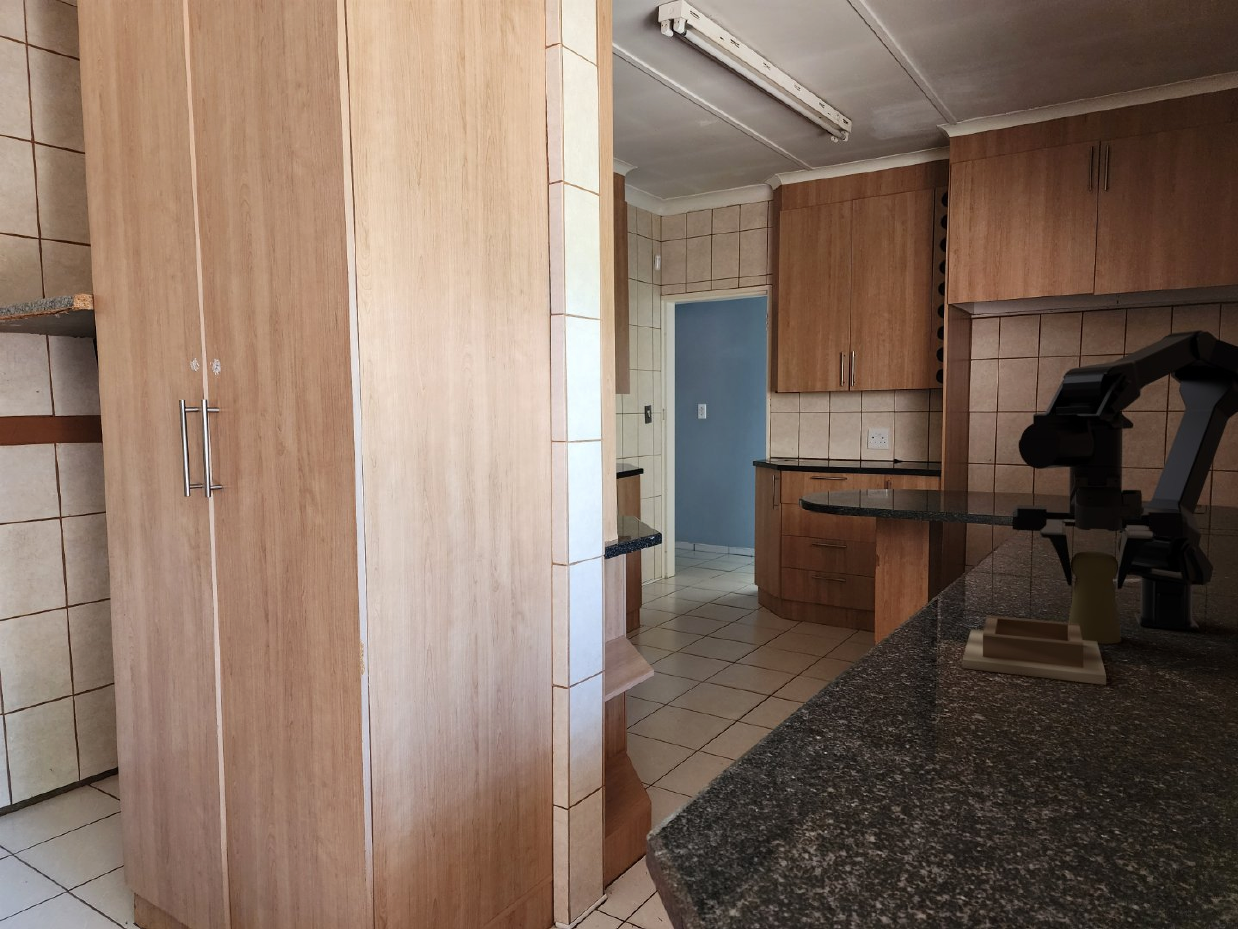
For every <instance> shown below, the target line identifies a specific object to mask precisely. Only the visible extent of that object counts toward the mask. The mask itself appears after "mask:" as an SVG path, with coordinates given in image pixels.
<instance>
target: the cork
mask: <svg viewBox="0 0 1238 929" xmlns="http://www.w3.org/2000/svg"><path fill="white" fill-rule="evenodd" d="M1070 565H1071V572H1072V574H1073V575H1074V576H1075V580H1074V586H1073V592H1072V598H1071V603H1070V604H1071V606H1070V611H1069V616H1068V617H1069V618H1068V623H1079V626H1080V631H1081V636H1082V640H1087V641H1097V644H1101V645H1103V644H1104V645H1107V644H1108V645H1109V644H1110V645H1112V644H1118V643H1120V642H1122V635H1121V628H1120V619H1119V614H1118V608H1117V606H1118V605H1117V599H1116V591H1115V586H1114V579H1115V578H1116V577H1117V572H1118V560H1117V558H1116V557H1115V556H1113V555H1112V554H1111V553H1108V552H1104V551H1103V552H1102V551H1094V550H1093V551H1091V550H1090V551H1079V552H1076V553H1075V554H1074V555H1073V557H1072V558H1071V560H1070Z"/></svg>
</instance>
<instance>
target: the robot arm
mask: <svg viewBox="0 0 1238 929" xmlns="http://www.w3.org/2000/svg"><path fill="white" fill-rule="evenodd" d="M1169 375H1170V377H1171V378H1172V379H1174V380H1175V381H1176V382H1177V383H1179V388H1178V392H1179V396H1181V397H1180V398H1181V399H1182V402H1183V404H1184V407H1185V408H1184V413H1183V415H1182V418H1181V420H1180V423H1179V426H1178V428H1177V430H1176V434H1175V437H1174V439H1173V442H1172V445H1171V446H1170V447H1171V448H1170V450H1169V452H1168V454H1167V455H1168V456H1167V458H1166V460H1165V463H1164V466H1163V469H1162V471H1161V474H1160V476H1159V478H1158V482H1157V484H1156V487H1155V489H1154V492H1153V495H1152V497H1151V500H1150V501H1149V502H1148V503H1146V504H1145V505H1143V494H1142V490H1141V489H1123V437H1124V436H1123V430H1124V429H1125V430H1129V429H1133V428H1134V423H1133V422H1132V420H1130V419H1129V418H1128V417H1126V415H1124V414H1123V412H1122V411H1124V410H1125V409H1127V408H1128V407H1129V406H1131V405H1132V404H1133V403H1134V402H1136V401H1137V400H1138V399H1140V397H1141V395H1142V394H1141V393H1142V392H1141V390H1142V389H1143V388H1145V387H1146V386H1148V385H1149V384H1151V383H1154V382H1156V381H1159V380H1160V379H1163V378H1164V377H1166V376H1169ZM1062 378H1063V380H1062V381H1061V383H1060V385H1059V386H1058V388H1057V390H1056V392H1055V394H1054V396H1053V398H1052V399H1051V401H1050V403H1049V405H1048V407H1047V408H1046V410H1045V413H1042V412H1041V413H1034V414H1033V416H1032V418H1033V419H1032V420H1033V423H1031V424H1030V425H1028V426H1027V427H1026V428H1025V429H1024V430H1023V432H1022V433H1021V435H1020V436H1021V437H1020V439H1019V440H1018V450H1019V455H1020V457H1021V459H1022V460H1023V462H1024V463H1025V464H1026V465H1027V466H1029V467H1031V468H1033V469H1037V470H1039V469H1040V470H1041V469H1042V470H1043V469H1058V468H1069V480H1068V481H1069V482H1068V483H1069V486H1068V488H1069V489H1068V490H1069V493H1068V495H1069V497H1068V499H1069V500H1068V502H1069V503H1068V504H1069V505H1068V506H1069V508H1068V511H1049V510H1047V505H1042V504H1041V505H1039V504H1038V505H1035V504H1032V505H1031V504H1017V505H1016V506H1015V507H1014V508H1013V511H1012V530H1014V531H1027V532H1028V531H1030V532H1039V536H1040V537H1041V538H1045V539H1049V541H1050V542H1051V544H1052V547H1053V548H1054V550H1055V552H1056V554H1057V555H1058V558H1059V559H1058V560H1059V561H1060V564H1061V568H1062V570H1063V573H1064V576H1065V579H1066V583H1067V585H1068V586H1069V587H1072V585H1073V572H1072V569H1071V560H1070V553H1069V545H1068V536H1067V532H1066V527H1076V528H1077V529H1079V530H1081V531H1082V530H1083V531H1091V530H1107V531H1109V532H1118V531H1119V532H1118V533H1120V536H1119V538H1118V546H1117V548H1118V551H1119V552H1118V553H1119V554H1118V560H1117V562H1118V572H1117V575H1116V588H1117V590H1122V588H1123V586H1124V583H1125V581H1126V579H1127V575H1128V576H1136V577H1140V611H1135V612H1134V616H1135V619H1136V620H1137V622H1138V625H1139V626H1142V627H1151V628H1153V627H1155V628H1165V629H1167V628H1168V629H1174V630H1175V629H1176V630H1189V631H1199V630H1200V626H1199V625H1198V624H1197V622H1196V621H1195V620H1194V618H1193V617H1192V614H1193V585H1196V586H1205V585H1207V583H1211V579H1212V576H1213V571H1214V565H1213V564H1212V562H1210V560H1209V558H1208V557H1207V556H1206V554H1205V552H1204V551H1203V550H1202V548H1201V547H1200V542H1201V537H1202V534H1201V530H1200V528H1199V525H1198V523H1197V519H1196V518H1195V511H1196V508H1197V506H1198V503H1199V500H1200V498H1201V495H1202V492H1203V489H1204V486H1205V483H1206V481H1207V478H1208V476H1209V472H1210V470H1211V468H1212V466H1213V465H1212V464H1213V461H1214V459H1215V456H1216V454H1217V450H1218V449H1219V445H1220V442H1221V439H1222V437H1223V434H1224V432H1225V430H1226V426H1227V424H1228V421H1229V420H1230V419H1231V418H1232V417H1233V416H1234V415H1236V414H1237V413H1238V345H1235V344H1233V343H1229V342H1227V341H1224V340H1220V339H1218V338H1216V337H1215V336H1214V335H1213V334H1212V333H1211V332H1209V331H1204V330H1201V329H1199V330H1190V331H1187V330H1186V331H1180V332H1172V333H1169V334H1168V335H1164V336H1163V337H1162V338H1161V339H1160V340H1158V341H1156V342H1153V343H1151V344H1149V345H1146V346H1144V347H1142V348H1140V349H1139V350H1136V351H1134V352H1132V353H1129V354H1127V355H1125V356H1122V357H1121V358H1119V359H1116V360H1115V361H1111V362H1103V363H1099V364H1098V363H1097V364H1091V365H1090V364H1088V365H1085V366H1080V367H1079V366H1078V367H1074V368H1071V369H1069V370H1068V371H1066V372H1065V373H1064V375H1063V377H1062Z"/></svg>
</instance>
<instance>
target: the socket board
mask: <svg viewBox="0 0 1238 929" xmlns="http://www.w3.org/2000/svg"><path fill="white" fill-rule="evenodd" d="M1068 622H1069V621H1068ZM1068 622H1065V621H1057V620H1056V621H1054V620H1053V621H1052V620H1044V619H1031V618H1023V617H1022V618H1021V617H1020V618H1019V617H1008V616H997V615H987V616H986V620H985V624H984V629H983V630H982V629H971V630H970V633H969V636H968V640H967V642H966V647H965V650H964V653H963V657H962V669H966V670H977V671H982V672H983V671H985V672H992V673H993V672H994V673H1003V674H1008V675H1009V674H1010V675H1019V676H1028V677H1035V678H1044V679H1052V680H1060V681H1069V682H1079V683H1088V684H1094V685H1095V684H1096V685H1105V686H1106V685H1107V674H1106V670H1105V667H1104V666H1105V665H1104V663H1103V659H1102V655H1101V651H1100V649H1099V648H1100V647H1099V645H1098V644H1099V643H1097V641H1087V640H1082V636H1081V631H1080V626H1079V623H1068Z"/></svg>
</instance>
